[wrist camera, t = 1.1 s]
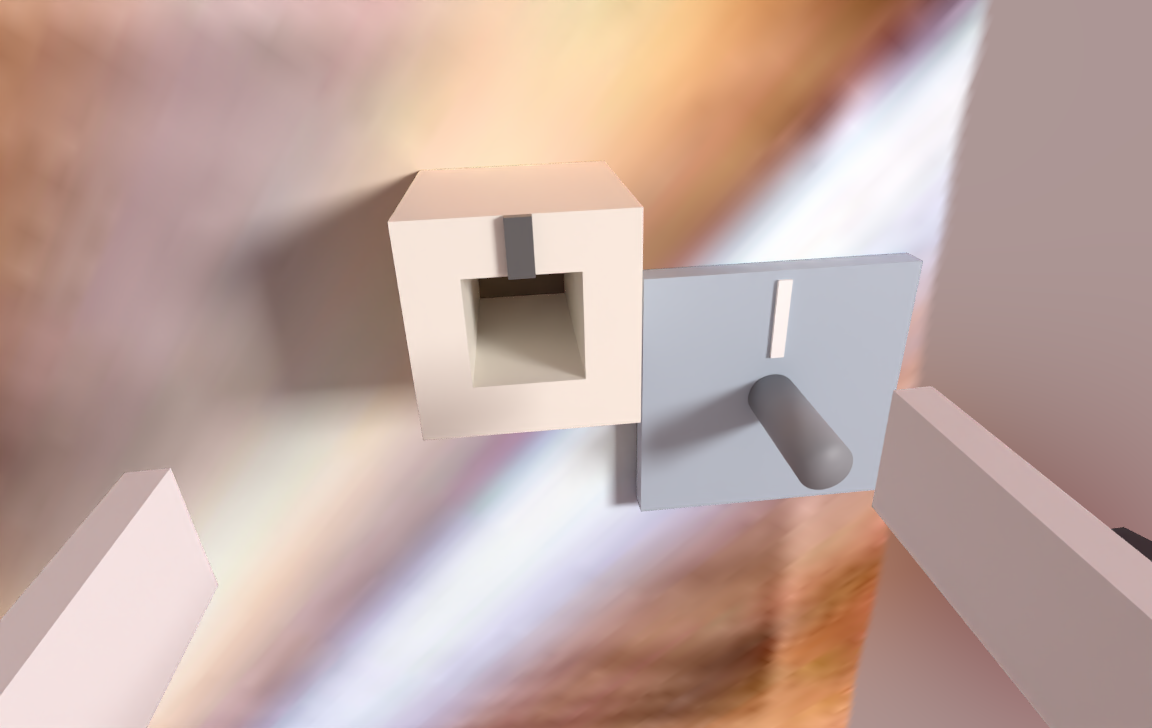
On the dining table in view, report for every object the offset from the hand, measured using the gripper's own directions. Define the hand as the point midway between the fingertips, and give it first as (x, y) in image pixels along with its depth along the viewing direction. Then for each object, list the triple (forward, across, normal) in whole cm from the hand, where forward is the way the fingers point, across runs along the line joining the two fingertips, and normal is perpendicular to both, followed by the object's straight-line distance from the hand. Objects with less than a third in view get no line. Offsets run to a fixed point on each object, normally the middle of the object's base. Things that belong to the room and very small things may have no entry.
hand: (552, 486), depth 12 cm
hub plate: (+16, +11, -8) cm, 21 cm away
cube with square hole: (+16, 0, -1) cm, 17 cm away
